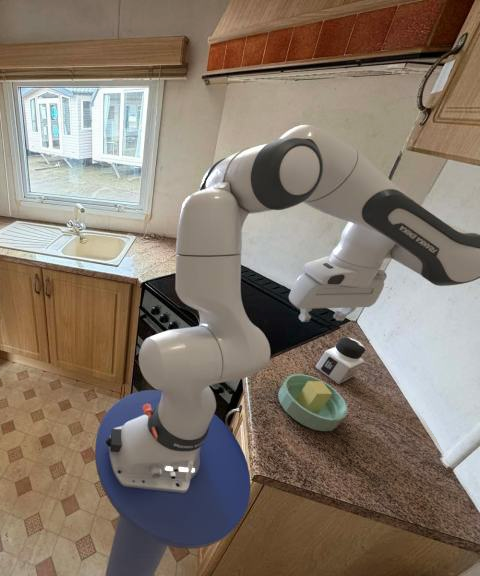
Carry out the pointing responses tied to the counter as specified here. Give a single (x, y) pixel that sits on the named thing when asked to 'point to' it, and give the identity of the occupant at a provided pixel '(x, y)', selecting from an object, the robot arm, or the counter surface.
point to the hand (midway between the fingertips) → (320, 319)
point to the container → (342, 360)
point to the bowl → (319, 421)
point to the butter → (314, 396)
